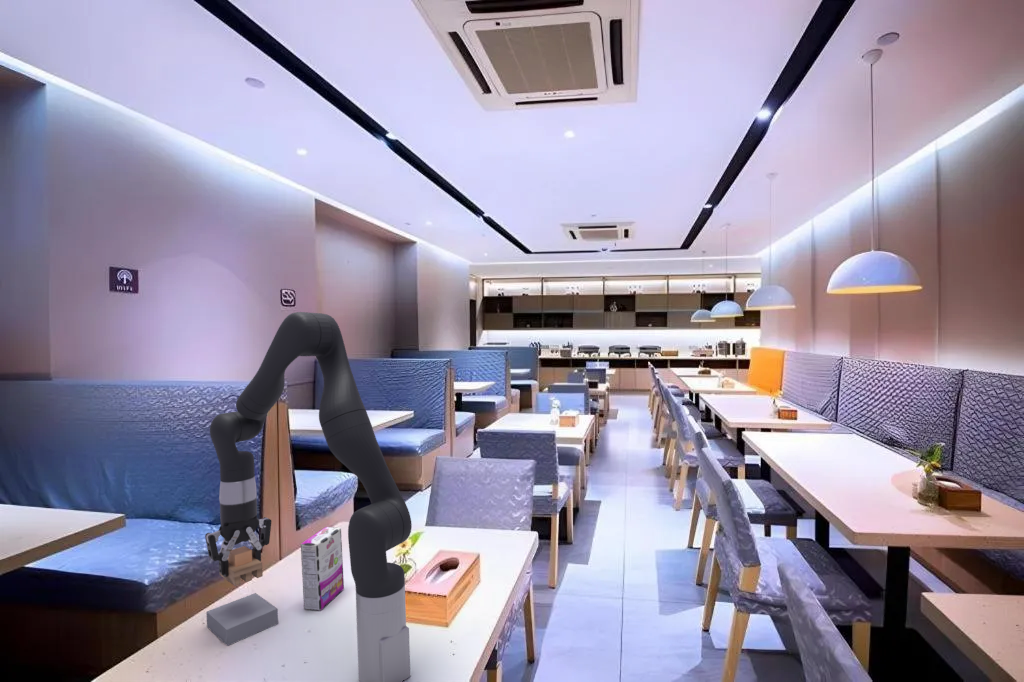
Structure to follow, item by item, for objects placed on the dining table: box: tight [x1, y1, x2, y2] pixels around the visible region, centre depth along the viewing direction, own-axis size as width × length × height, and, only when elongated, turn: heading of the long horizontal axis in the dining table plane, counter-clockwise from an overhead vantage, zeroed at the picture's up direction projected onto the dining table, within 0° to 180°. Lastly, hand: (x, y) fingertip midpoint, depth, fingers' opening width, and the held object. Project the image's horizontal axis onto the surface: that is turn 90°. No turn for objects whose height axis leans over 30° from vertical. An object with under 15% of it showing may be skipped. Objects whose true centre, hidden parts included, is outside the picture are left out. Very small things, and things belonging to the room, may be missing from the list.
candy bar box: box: [300, 526, 345, 611], centre depth 131 cm, size 11×5×16 cm, turn 168°
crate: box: [228, 545, 252, 567], centre depth 120 cm, size 4×4×3 cm
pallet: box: [218, 557, 264, 587], centre depth 120 cm, size 9×6×3 cm, turn 49°
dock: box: [206, 592, 279, 646], centre depth 120 cm, size 12×11×4 cm
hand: (240, 570), depth 120 cm, fingers closed on pallet, 6 cm apart
